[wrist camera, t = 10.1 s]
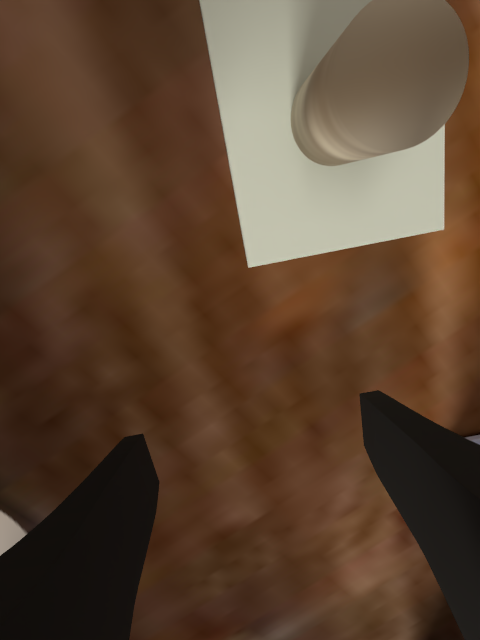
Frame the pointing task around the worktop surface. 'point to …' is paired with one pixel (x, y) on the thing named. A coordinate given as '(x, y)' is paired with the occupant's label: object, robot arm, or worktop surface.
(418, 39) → the birch peg
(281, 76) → the board
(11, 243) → the worktop surface
